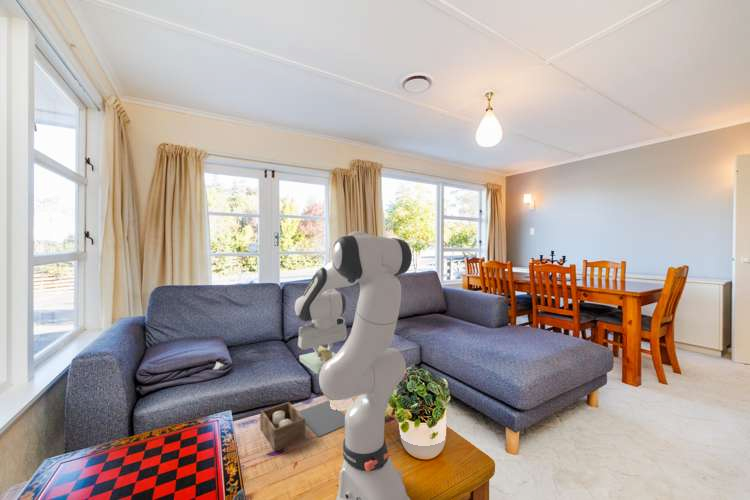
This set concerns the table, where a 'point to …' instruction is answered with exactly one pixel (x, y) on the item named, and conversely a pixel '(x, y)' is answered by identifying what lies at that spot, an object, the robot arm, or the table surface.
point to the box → (282, 425)
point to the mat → (323, 418)
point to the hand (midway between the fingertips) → (323, 355)
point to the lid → (316, 359)
